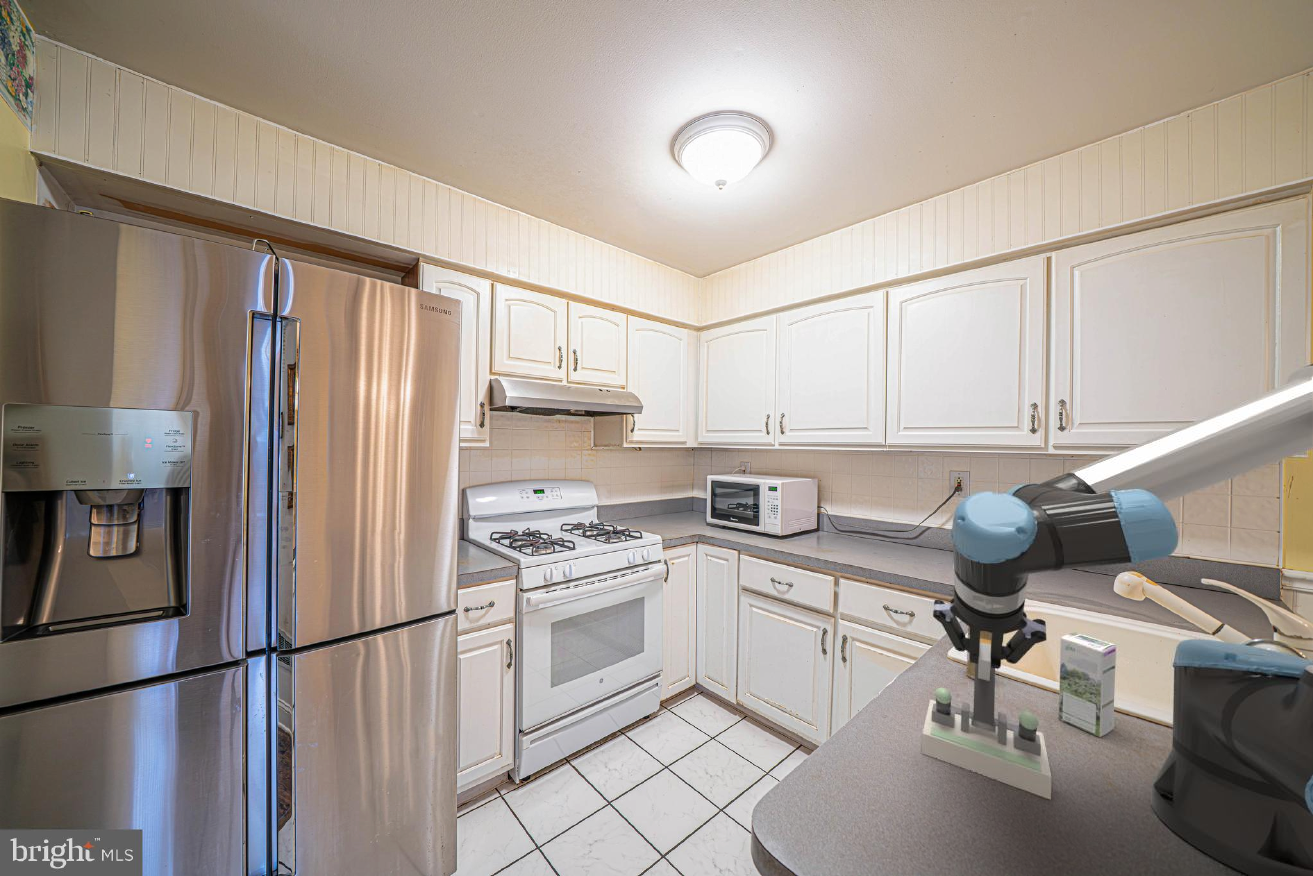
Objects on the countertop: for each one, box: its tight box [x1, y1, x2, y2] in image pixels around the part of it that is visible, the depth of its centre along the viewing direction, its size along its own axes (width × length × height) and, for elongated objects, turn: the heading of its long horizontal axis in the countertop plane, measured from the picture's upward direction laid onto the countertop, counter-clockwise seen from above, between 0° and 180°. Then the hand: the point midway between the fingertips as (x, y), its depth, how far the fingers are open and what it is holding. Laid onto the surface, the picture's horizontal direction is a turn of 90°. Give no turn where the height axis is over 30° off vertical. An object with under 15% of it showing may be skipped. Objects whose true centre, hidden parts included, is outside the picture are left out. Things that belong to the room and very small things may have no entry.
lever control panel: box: [921, 687, 1053, 801], centre depth 72 cm, size 15×12×9 cm
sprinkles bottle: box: [965, 625, 992, 681], centre depth 96 cm, size 5×5×13 cm
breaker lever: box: [971, 638, 996, 733], centre depth 74 cm, size 3×2×13 cm
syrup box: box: [1058, 632, 1117, 738], centre depth 80 cm, size 6×6×14 cm
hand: (983, 671), depth 74 cm, fingers closed
